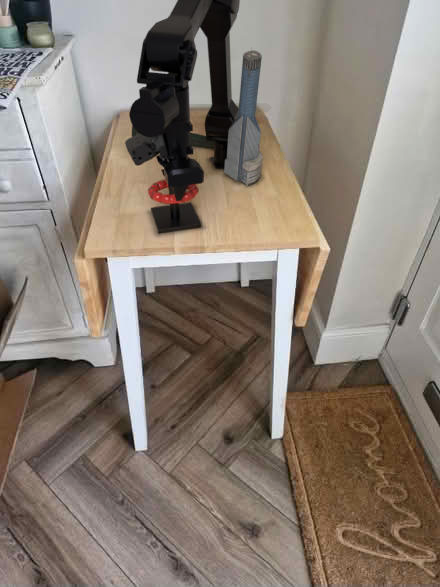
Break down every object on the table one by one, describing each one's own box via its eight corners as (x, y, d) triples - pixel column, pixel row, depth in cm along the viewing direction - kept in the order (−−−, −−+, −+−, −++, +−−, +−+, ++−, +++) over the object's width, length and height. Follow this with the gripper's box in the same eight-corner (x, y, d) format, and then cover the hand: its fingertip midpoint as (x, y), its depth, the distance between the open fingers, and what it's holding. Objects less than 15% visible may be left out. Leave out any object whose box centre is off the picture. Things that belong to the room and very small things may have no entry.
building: (258, 187, 102) (276, 48, 81) (220, 182, 103) (229, 43, 82) (262, 167, 109) (280, 34, 88) (227, 163, 110) (236, 30, 89)
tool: (130, 147, 119) (127, 122, 114) (137, 137, 123) (134, 114, 119) (227, 155, 116) (228, 131, 111) (231, 146, 120) (232, 122, 116)
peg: (151, 211, 93) (147, 177, 88) (191, 206, 95) (190, 172, 90) (158, 234, 87) (154, 198, 81) (201, 227, 88) (200, 192, 83)
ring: (145, 188, 90) (144, 180, 89) (192, 183, 92) (191, 175, 91) (153, 208, 82) (152, 199, 81) (203, 201, 84) (203, 192, 83)
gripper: (119, 101, 78) (129, 181, 88) (132, 141, 64) (143, 229, 75) (179, 97, 80) (182, 174, 90) (204, 134, 67) (205, 220, 77)
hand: (177, 197), depth 83 cm, fingers closed on ring, 2 cm apart
